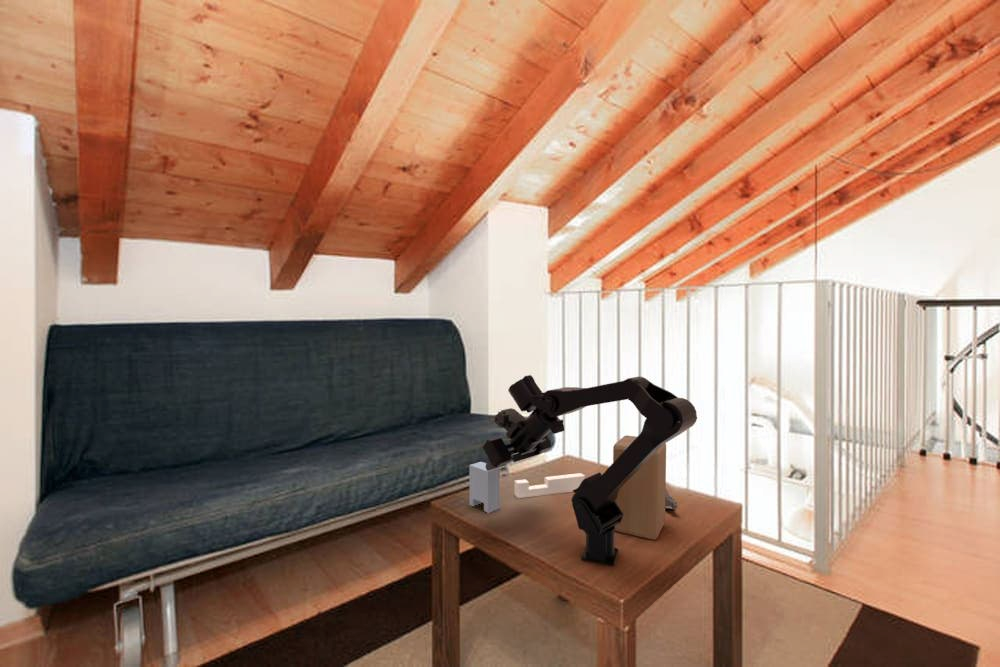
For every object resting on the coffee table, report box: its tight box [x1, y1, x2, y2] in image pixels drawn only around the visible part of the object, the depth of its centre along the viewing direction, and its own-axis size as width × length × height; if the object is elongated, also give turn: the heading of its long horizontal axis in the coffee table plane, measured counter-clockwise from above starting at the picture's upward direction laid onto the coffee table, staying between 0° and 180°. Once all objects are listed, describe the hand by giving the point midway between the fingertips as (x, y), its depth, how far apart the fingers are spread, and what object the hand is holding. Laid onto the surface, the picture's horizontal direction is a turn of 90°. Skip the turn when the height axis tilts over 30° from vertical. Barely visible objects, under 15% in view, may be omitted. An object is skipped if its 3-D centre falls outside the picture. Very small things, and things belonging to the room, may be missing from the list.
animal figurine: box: [665, 489, 678, 510], centre depth 117 cm, size 12×4×5 cm, turn 5°
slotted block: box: [468, 461, 500, 514], centre depth 117 cm, size 7×4×10 cm, turn 45°
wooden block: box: [612, 434, 667, 540], centre depth 105 cm, size 10×10×20 cm
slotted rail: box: [514, 472, 586, 499], centre depth 127 cm, size 2×20×4 cm, turn 107°
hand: (500, 464), depth 113 cm, fingers open, 9 cm apart
